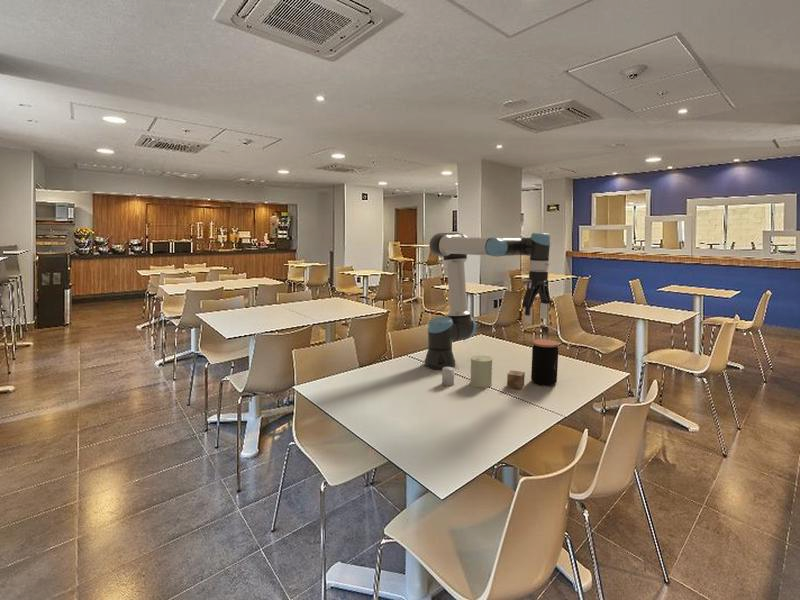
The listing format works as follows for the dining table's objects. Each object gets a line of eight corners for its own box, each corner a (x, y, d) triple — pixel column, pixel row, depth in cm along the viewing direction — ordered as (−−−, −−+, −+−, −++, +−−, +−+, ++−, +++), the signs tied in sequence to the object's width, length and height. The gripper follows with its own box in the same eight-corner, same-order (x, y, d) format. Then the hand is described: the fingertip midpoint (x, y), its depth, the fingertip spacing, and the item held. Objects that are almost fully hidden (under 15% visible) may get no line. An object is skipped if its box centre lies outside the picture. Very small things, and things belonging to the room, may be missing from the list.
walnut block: (506, 387, 181) (507, 374, 180) (509, 383, 187) (510, 370, 186) (521, 390, 179) (522, 376, 178) (524, 385, 184) (524, 372, 183)
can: (465, 384, 185) (466, 357, 184) (477, 379, 192) (478, 353, 190) (484, 389, 179) (485, 361, 177) (495, 383, 186) (496, 357, 184)
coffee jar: (558, 387, 181) (560, 345, 178) (532, 385, 183) (533, 344, 181) (554, 379, 191) (556, 339, 189) (529, 377, 194) (531, 338, 191)
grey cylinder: (439, 384, 186) (439, 368, 185) (447, 381, 189) (447, 366, 188) (448, 387, 182) (449, 371, 181) (456, 384, 186) (456, 368, 185)
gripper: (532, 273, 168) (529, 326, 171) (560, 269, 185) (557, 317, 189) (515, 271, 173) (512, 323, 176) (543, 268, 191) (541, 315, 194)
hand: (535, 320), depth 183 cm, fingers open, 13 cm apart
